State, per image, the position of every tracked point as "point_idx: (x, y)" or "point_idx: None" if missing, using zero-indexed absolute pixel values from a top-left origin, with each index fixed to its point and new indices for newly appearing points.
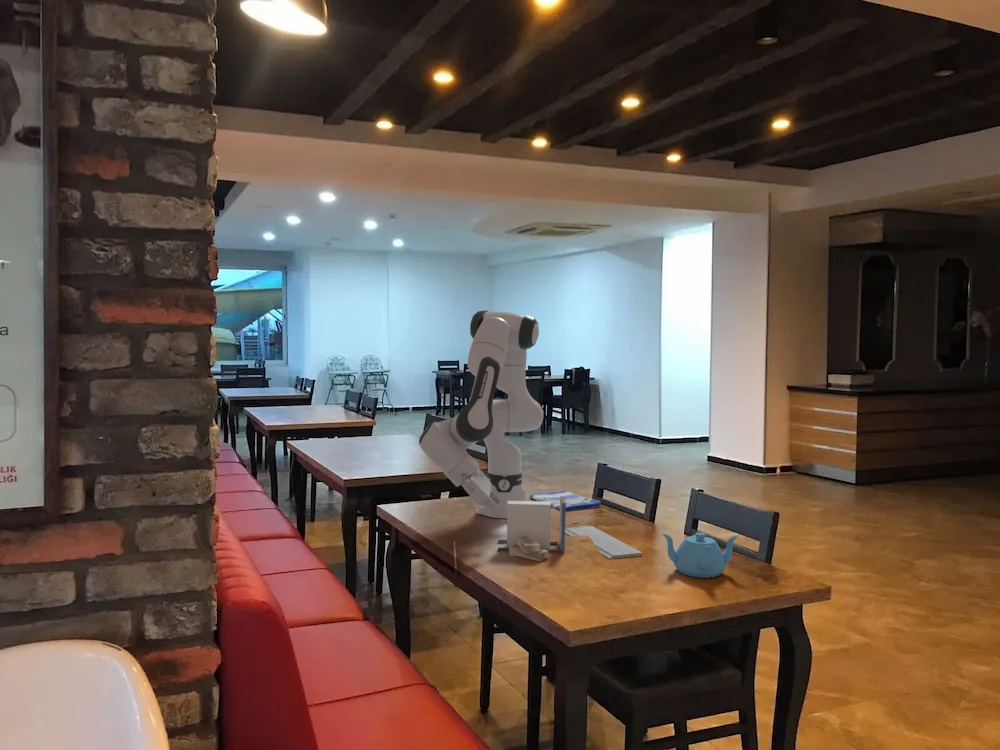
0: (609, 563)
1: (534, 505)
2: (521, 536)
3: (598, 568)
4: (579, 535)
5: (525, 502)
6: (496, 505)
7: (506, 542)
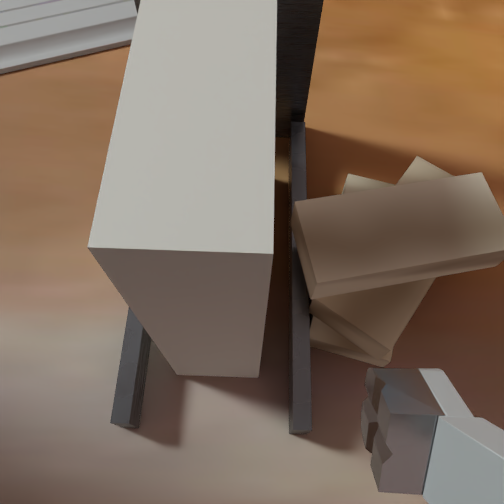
0: (364, 7)
1: (276, 27)
2: (312, 257)
3: (433, 40)
4: (16, 41)
5: (193, 79)
6: (464, 404)
7: (139, 370)
